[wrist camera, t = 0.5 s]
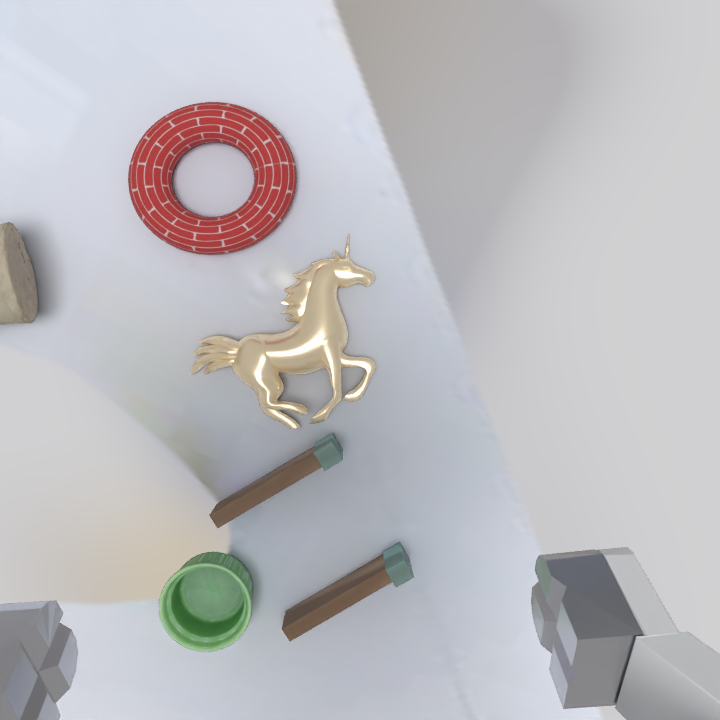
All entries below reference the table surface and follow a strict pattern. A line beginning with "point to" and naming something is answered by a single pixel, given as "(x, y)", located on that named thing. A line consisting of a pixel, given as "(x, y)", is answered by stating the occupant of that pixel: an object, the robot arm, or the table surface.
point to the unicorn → (297, 342)
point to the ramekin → (207, 602)
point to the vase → (16, 279)
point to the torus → (196, 128)
